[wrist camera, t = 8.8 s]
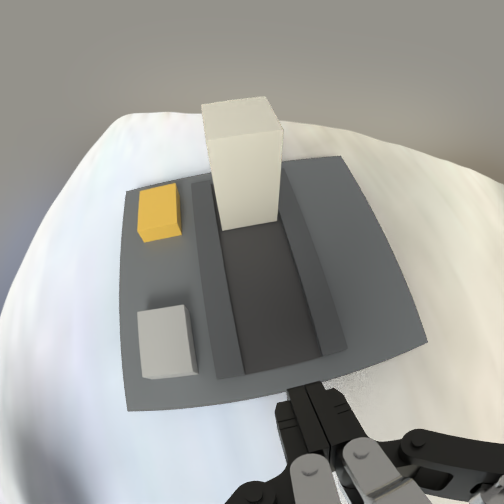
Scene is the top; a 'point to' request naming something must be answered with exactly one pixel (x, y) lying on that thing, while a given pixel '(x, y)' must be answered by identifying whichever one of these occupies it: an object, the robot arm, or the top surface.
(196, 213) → the switch panel
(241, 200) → the switch tab
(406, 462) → the robot arm
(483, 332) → the top surface
